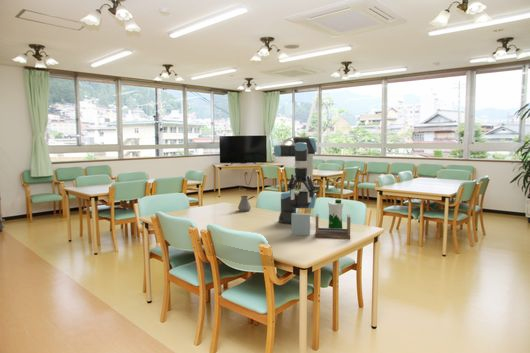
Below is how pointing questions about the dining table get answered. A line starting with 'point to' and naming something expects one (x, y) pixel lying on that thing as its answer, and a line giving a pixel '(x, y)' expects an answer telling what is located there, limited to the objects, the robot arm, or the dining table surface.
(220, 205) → the dining table surface
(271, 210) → the dining table surface
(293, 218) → the door panel
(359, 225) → the dining table surface
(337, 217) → the milk carton
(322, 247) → the dining table surface
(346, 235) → the track frame
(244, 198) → the coffee pot
